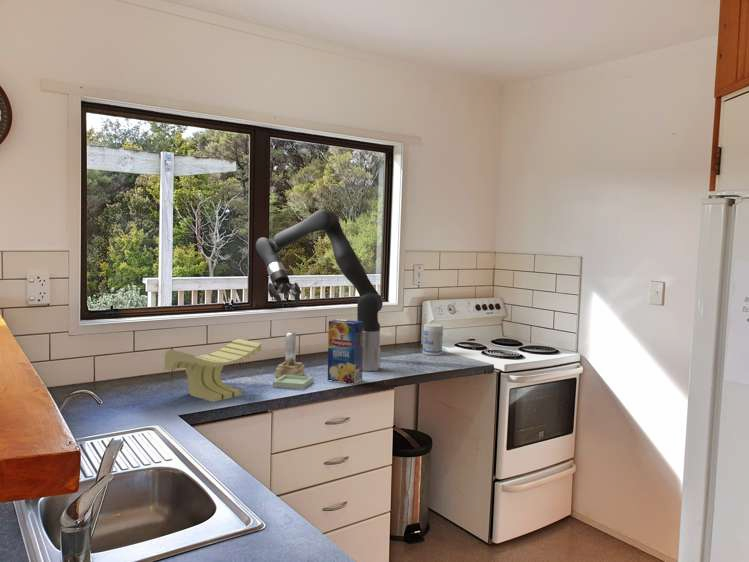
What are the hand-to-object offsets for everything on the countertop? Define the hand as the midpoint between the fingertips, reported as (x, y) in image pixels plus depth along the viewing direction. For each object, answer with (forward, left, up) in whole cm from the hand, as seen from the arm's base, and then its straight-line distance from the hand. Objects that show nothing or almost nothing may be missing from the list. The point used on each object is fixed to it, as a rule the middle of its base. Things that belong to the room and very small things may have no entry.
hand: (289, 303), depth 265 cm
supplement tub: (-55, -52, -29) cm, 81 cm away
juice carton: (-29, +14, -29) cm, 43 cm away
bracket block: (-6, +15, -28) cm, 32 cm away
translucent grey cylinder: (-6, +15, -24) cm, 29 cm away
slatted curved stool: (+10, +49, -29) cm, 57 cm away
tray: (-12, +27, -28) cm, 41 cm away
